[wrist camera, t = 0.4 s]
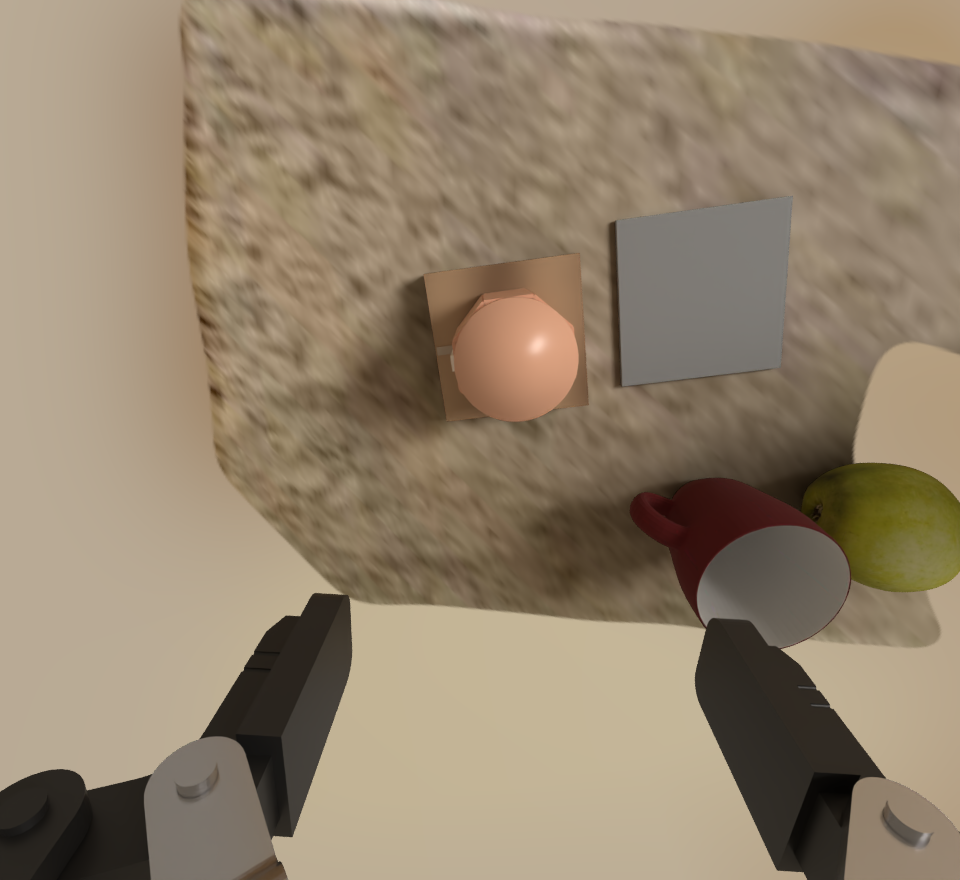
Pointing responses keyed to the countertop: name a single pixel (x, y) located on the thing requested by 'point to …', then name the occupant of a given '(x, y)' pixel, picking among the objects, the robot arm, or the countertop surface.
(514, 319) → the cap
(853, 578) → the apple
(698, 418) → the countertop surface
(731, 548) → the mug
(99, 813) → the robot arm
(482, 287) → the post block
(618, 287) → the mat
